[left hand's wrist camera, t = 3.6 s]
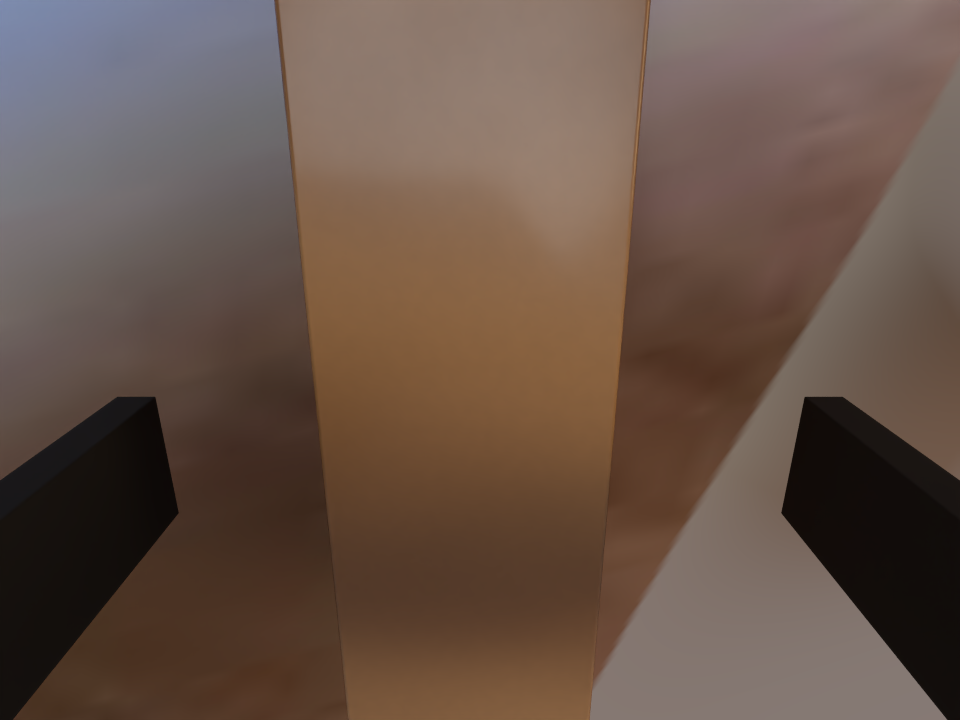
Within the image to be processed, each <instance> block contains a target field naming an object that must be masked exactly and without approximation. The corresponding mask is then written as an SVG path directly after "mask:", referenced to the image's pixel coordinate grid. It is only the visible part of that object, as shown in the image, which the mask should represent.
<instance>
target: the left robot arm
mask: <svg viewBox="0 0 960 720" xmlns="http://www.w3.org/2000/svg"><path fill="white" fill-rule="evenodd" d="M178 513H179V512H178V508H177V503H176V498H175V493H174V488H173V483H172V478H171V473H170V468H169V463H168V458H167V453H166V448H165V443H164V438H163V433H162V428H161V423H160V418H159V413H158V408H157V403H156V398H155V397H117V398H115V399H114V400H112V401H111V402H110V403H108V404H107V405H105V406H104V407H103V408H101V409H100V410H98V411H97V412H96V413H94V414H93V415H91V416H90V417H89V418H87V419H86V420H84V421H83V422H81V423H80V424H79V425H77V426H76V427H74V428H73V429H72V430H70V431H69V432H67V433H66V434H65V435H63V436H62V437H60V438H59V439H58V440H56V441H55V442H53V443H52V444H51V445H49V446H48V447H46V448H45V449H44V450H42V451H41V452H39V453H38V454H37V455H35V456H34V457H32V458H31V459H30V460H28V461H27V462H25V463H24V464H23V465H21V466H20V467H18V468H17V469H16V470H14V471H13V472H11V473H10V474H9V475H7V476H6V477H4V478H3V479H2V480H0V720H13V719H14V717H15V716H16V715H17V714H18V712H19V711H20V710H21V709H22V707H23V706H24V705H25V704H26V702H27V701H28V700H29V699H30V697H31V696H32V695H33V694H34V693H35V691H36V690H37V689H38V688H39V686H40V685H41V684H42V683H43V681H44V680H45V679H46V678H47V676H48V675H49V674H50V673H51V671H52V670H53V669H54V668H55V666H56V665H57V664H58V663H59V661H60V660H61V659H62V658H63V656H64V655H65V654H66V653H67V651H68V650H69V649H70V648H71V646H72V645H73V644H74V643H75V641H76V640H77V639H78V638H79V637H80V635H81V634H82V633H83V632H84V630H85V629H86V628H87V627H88V625H89V624H90V623H91V622H92V620H93V619H94V618H95V617H96V615H97V614H98V613H99V612H100V610H101V609H102V608H103V607H104V605H105V604H106V603H107V602H108V600H109V599H110V598H111V597H112V595H113V594H114V593H115V592H116V590H117V589H118V588H119V587H120V585H121V584H122V583H123V582H124V580H125V579H126V578H127V577H128V576H129V574H130V573H131V572H132V571H133V569H134V568H135V567H136V566H137V564H138V563H139V562H140V561H141V559H142V558H143V557H144V556H145V554H146V553H147V552H148V551H149V549H150V548H151V547H152V546H153V544H154V543H155V542H156V541H157V539H158V538H159V537H160V536H161V534H162V533H163V532H164V531H165V529H166V528H167V527H168V526H169V524H170V523H171V522H172V521H173V520H174V518H175V517H176V516H177V515H178ZM781 513H782V515H783V516H784V517H785V518H786V520H787V521H788V522H789V523H790V524H791V526H792V527H793V528H794V529H795V531H796V532H797V533H798V534H799V536H800V537H801V538H802V539H803V541H804V542H805V543H806V544H807V546H808V547H809V548H810V549H811V551H812V552H813V553H814V554H815V556H816V557H817V558H818V559H819V561H820V562H821V563H822V564H823V566H824V567H825V568H826V569H827V571H828V572H829V573H830V574H831V576H832V577H833V578H834V579H835V581H836V582H837V583H838V584H839V585H840V587H841V588H842V589H843V590H844V592H845V593H846V594H847V595H848V597H849V598H850V599H851V600H852V602H853V603H854V604H855V605H856V607H857V608H858V609H859V610H860V611H861V613H862V614H863V615H864V617H865V618H866V619H867V620H868V621H869V623H870V624H871V625H872V627H873V628H874V629H875V630H876V631H877V633H878V634H879V635H880V637H881V638H882V639H883V640H884V641H885V643H886V644H887V645H888V646H889V648H890V649H891V650H892V651H893V653H894V654H895V655H896V656H897V658H898V659H899V660H900V661H901V663H902V664H903V665H904V666H905V668H906V669H907V670H908V671H909V673H910V674H911V675H912V676H913V678H914V679H915V680H916V681H917V683H918V684H919V685H920V686H921V688H922V689H923V690H924V691H925V692H926V694H927V695H928V696H929V697H930V699H931V700H932V701H933V702H934V704H935V705H936V706H937V707H938V709H939V710H940V711H941V712H942V714H943V715H944V716H945V717H946V719H947V720H960V480H958V479H957V478H956V477H954V476H953V475H951V474H950V473H949V472H947V471H946V470H944V469H943V468H941V467H940V466H939V465H937V464H936V463H935V462H933V461H932V460H930V459H929V458H928V457H926V456H925V455H923V454H922V453H920V452H919V451H918V450H916V449H915V448H914V447H912V446H911V445H909V444H908V443H906V442H905V441H904V440H902V439H901V438H900V437H898V436H897V435H895V434H894V433H893V432H891V431H890V430H888V429H887V428H886V427H884V426H883V425H881V424H880V423H878V422H877V421H876V420H874V419H873V418H871V417H870V416H869V415H867V414H866V413H864V412H863V411H862V410H860V409H859V408H857V407H856V406H855V405H853V404H852V403H850V402H849V401H848V400H846V399H845V398H843V397H805V398H804V403H803V408H802V413H801V418H800V423H799V428H798V433H797V438H796V443H795V448H794V453H793V458H792V463H791V468H790V473H789V478H788V483H787V488H786V493H785V498H784V503H783V508H782V512H781Z"/></svg>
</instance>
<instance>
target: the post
mask: <svg viewBox="0 0 960 720" xmlns="http://www.w3.org/2000/svg"><path fill="white" fill-rule="evenodd" d="M274 3H275V12H276V22H277V32H278V42H279V51H280V61H281V71H282V81H283V90H284V100H285V110H286V120H287V129H288V139H289V149H290V159H291V168H292V178H293V188H294V198H295V207H296V217H297V227H298V237H299V246H300V256H301V266H302V276H303V285H304V295H305V305H306V315H307V324H308V334H309V344H310V354H311V364H312V373H313V383H314V393H315V403H316V412H317V422H318V432H319V442H320V451H321V461H322V471H323V481H324V490H325V500H326V510H327V520H328V529H329V539H330V549H331V559H332V568H333V578H334V588H335V598H336V607H337V617H338V627H339V637H340V646H341V656H342V666H343V676H344V685H345V695H346V705H347V715H348V720H590V708H591V696H592V685H593V673H594V661H595V649H596V637H597V626H598V614H599V602H600V590H601V579H602V567H603V555H604V543H605V532H606V520H607V508H608V496H609V485H610V473H611V461H612V449H613V438H614V426H615V414H616V402H617V391H618V379H619V367H620V355H621V344H622V332H623V320H624V308H625V297H626V285H627V273H628V261H629V250H630V238H631V226H632V214H633V203H634V191H635V179H636V167H637V156H638V144H639V132H640V120H641V108H642V97H643V85H644V73H645V61H646V50H647V38H648V26H649V14H650V3H651V0H274Z"/></svg>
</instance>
